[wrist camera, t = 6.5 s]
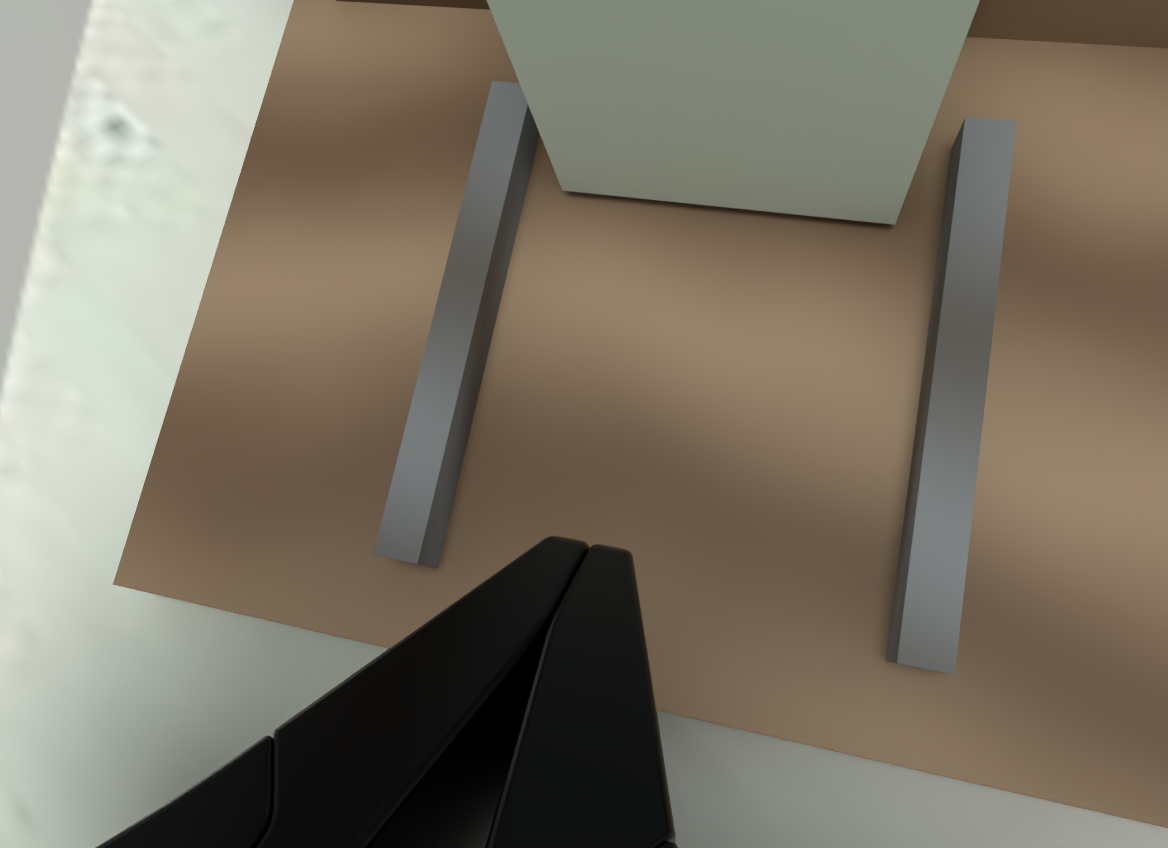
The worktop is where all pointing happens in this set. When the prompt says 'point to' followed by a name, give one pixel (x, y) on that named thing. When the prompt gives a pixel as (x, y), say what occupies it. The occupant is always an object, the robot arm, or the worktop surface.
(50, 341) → the worktop surface
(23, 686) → the worktop surface
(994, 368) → the knob mount
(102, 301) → the worktop surface
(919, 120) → the pale green capped bottle
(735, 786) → the worktop surface
